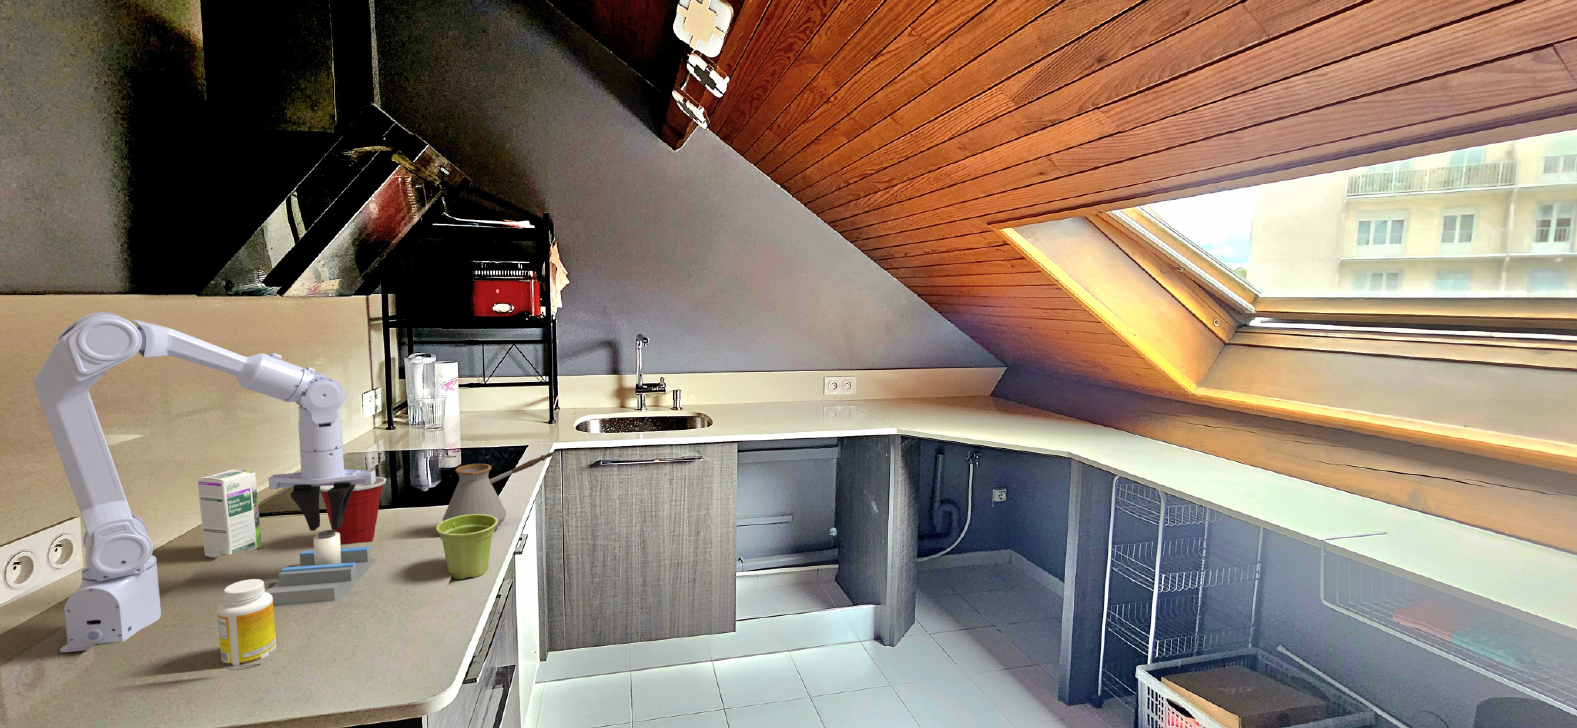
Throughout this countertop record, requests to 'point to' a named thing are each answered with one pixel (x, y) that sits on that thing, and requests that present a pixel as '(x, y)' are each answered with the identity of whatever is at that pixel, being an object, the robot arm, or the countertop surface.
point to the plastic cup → (358, 512)
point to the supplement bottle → (246, 624)
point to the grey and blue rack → (320, 578)
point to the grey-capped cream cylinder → (327, 548)
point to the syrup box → (229, 512)
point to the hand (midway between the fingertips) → (326, 527)
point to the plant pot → (467, 543)
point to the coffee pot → (481, 491)
